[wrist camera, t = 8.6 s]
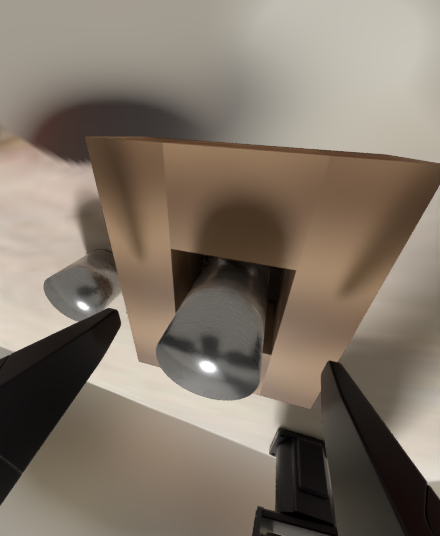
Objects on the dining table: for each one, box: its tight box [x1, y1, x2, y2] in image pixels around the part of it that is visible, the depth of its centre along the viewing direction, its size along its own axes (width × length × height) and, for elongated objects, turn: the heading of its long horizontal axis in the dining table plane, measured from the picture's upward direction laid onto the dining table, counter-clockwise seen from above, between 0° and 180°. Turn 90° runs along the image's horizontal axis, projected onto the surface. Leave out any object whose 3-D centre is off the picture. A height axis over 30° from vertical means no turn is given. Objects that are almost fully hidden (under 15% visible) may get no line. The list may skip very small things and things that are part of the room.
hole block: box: [85, 137, 440, 409], centre depth 13 cm, size 14×12×4 cm
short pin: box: [44, 250, 122, 322], centre depth 16 cm, size 4×4×4 cm
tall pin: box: [156, 256, 270, 400], centre depth 11 cm, size 4×4×8 cm
